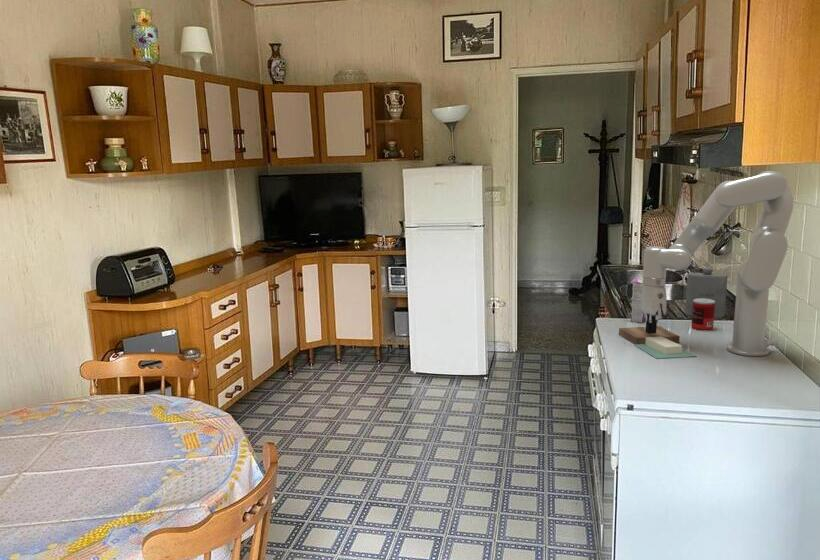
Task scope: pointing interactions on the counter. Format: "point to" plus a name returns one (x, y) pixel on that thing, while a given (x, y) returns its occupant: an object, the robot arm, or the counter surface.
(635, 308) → the candy bar box
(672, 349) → the tile
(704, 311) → the canned food
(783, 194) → the robot arm
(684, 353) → the mat
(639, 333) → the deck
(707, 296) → the grey upright rectangular block
